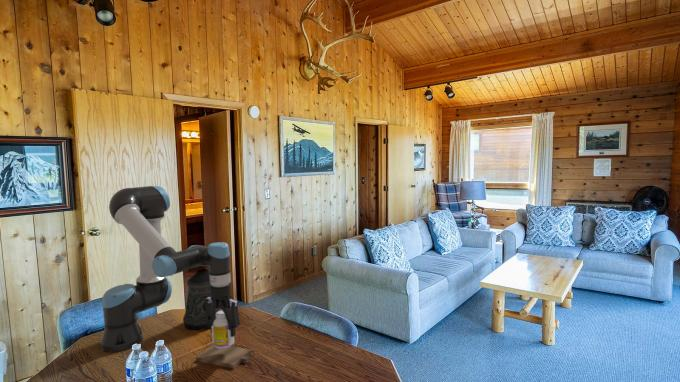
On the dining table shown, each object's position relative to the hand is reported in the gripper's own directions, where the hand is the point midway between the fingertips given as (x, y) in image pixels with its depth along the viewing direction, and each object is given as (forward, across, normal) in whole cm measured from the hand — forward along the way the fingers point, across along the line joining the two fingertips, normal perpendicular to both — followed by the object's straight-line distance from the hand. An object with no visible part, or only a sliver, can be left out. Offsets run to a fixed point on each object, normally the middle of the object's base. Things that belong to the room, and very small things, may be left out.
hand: (223, 342), depth 140 cm
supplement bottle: (+1, 0, 0) cm, 1 cm away
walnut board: (+6, +1, 0) cm, 6 cm away
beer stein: (+6, -28, +23) cm, 37 cm away
